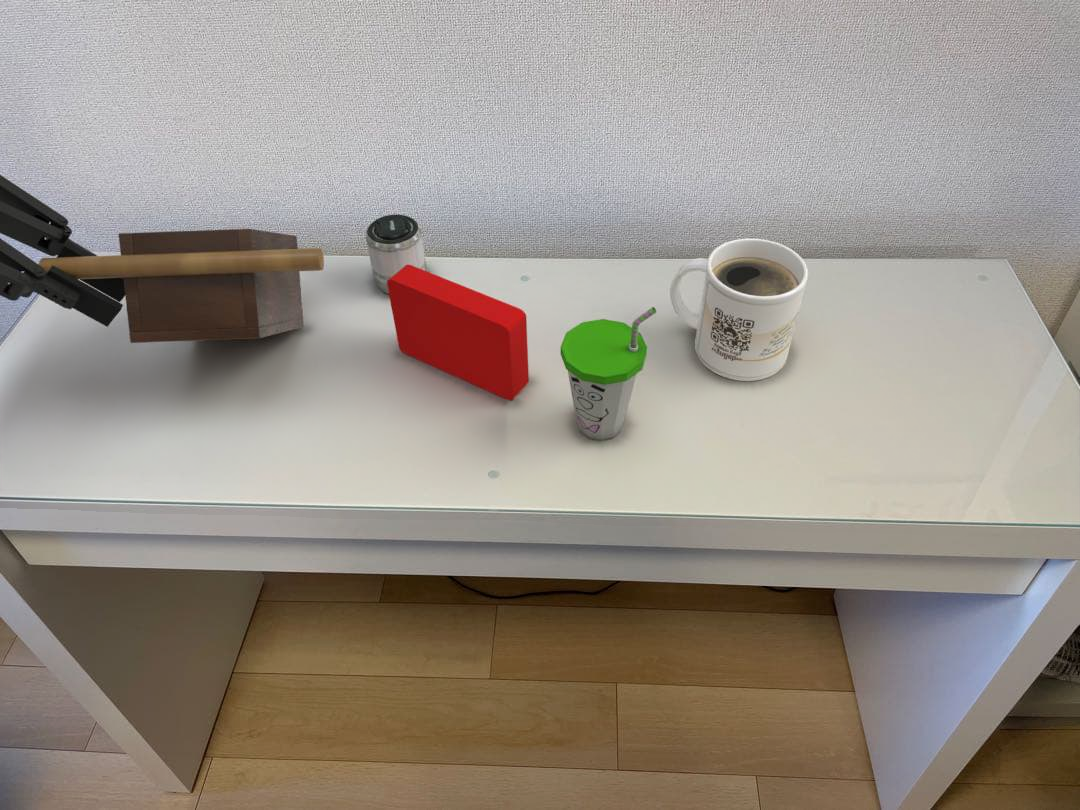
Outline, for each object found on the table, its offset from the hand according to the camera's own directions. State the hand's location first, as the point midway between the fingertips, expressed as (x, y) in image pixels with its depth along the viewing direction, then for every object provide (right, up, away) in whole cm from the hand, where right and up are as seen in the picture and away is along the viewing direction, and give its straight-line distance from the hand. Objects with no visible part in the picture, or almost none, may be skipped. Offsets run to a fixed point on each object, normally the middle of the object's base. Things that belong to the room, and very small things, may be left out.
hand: (121, 303), depth 80 cm
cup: (+45, -12, +4) cm, 47 cm away
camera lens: (+23, +5, +21) cm, 31 cm away
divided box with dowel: (+7, -2, +6) cm, 10 cm away
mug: (+60, -3, +12) cm, 62 cm away
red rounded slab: (+31, -6, +10) cm, 33 cm away
